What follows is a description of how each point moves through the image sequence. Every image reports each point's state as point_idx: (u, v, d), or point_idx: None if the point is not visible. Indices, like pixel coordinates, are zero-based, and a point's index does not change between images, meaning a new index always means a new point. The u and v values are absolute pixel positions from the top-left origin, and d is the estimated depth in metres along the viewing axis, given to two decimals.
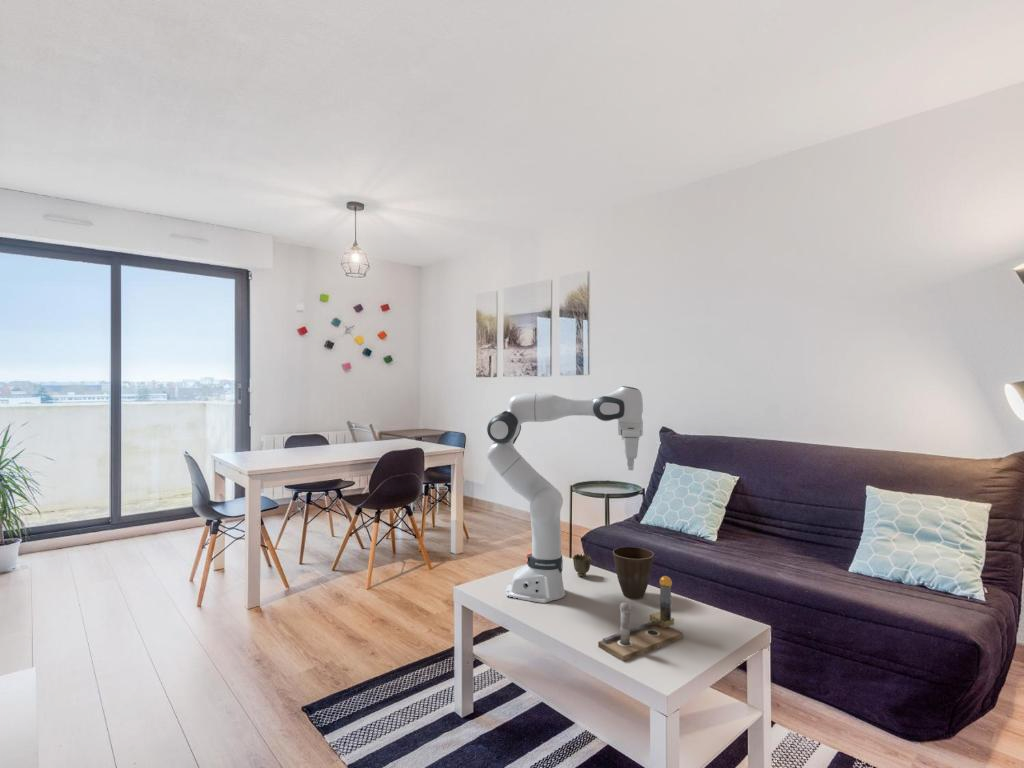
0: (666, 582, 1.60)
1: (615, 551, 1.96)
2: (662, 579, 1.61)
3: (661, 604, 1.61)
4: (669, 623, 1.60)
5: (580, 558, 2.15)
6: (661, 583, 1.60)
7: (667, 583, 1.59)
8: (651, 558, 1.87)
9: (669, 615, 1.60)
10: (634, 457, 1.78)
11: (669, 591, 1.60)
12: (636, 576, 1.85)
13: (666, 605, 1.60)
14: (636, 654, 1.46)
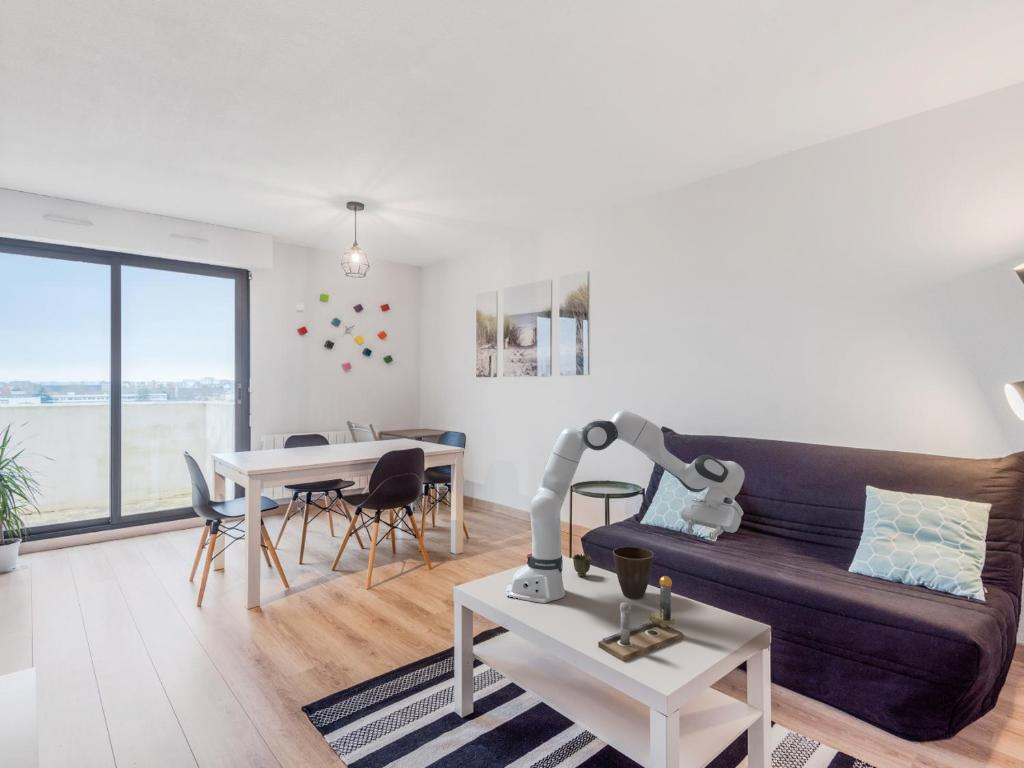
0: (666, 582, 1.60)
1: (615, 551, 1.96)
2: (662, 579, 1.61)
3: (661, 604, 1.61)
4: (669, 623, 1.60)
5: (580, 558, 2.15)
6: (661, 583, 1.60)
7: (667, 583, 1.59)
8: (651, 558, 1.87)
9: (669, 615, 1.60)
10: (734, 531, 1.66)
11: (669, 591, 1.60)
12: (636, 576, 1.85)
13: (666, 605, 1.60)
14: (636, 654, 1.46)
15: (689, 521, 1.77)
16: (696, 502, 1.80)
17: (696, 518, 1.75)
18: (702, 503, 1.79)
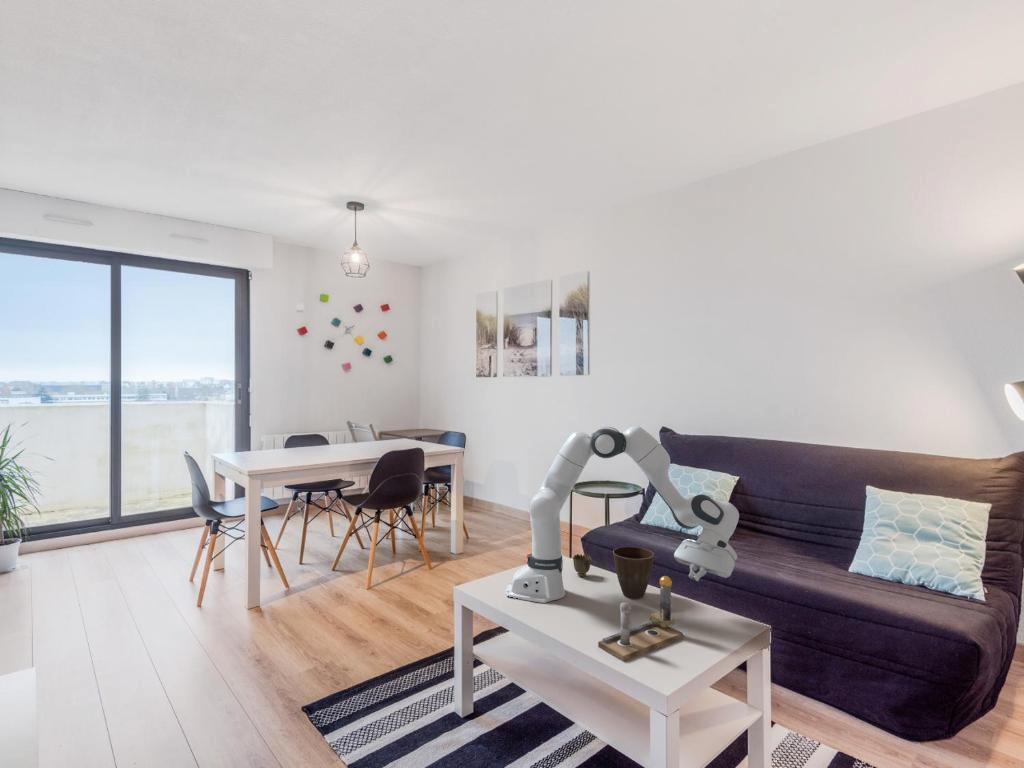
0: (666, 582, 1.60)
1: (615, 551, 1.96)
2: (662, 579, 1.61)
3: (661, 604, 1.61)
4: (669, 623, 1.60)
5: (580, 558, 2.15)
6: (661, 583, 1.60)
7: (667, 583, 1.59)
8: (651, 558, 1.87)
9: (669, 615, 1.60)
10: (727, 576, 1.64)
11: (669, 591, 1.60)
12: (636, 576, 1.85)
13: (666, 605, 1.60)
14: (636, 654, 1.46)
15: (691, 566, 1.72)
16: (689, 543, 1.78)
17: (689, 560, 1.73)
18: (695, 544, 1.76)
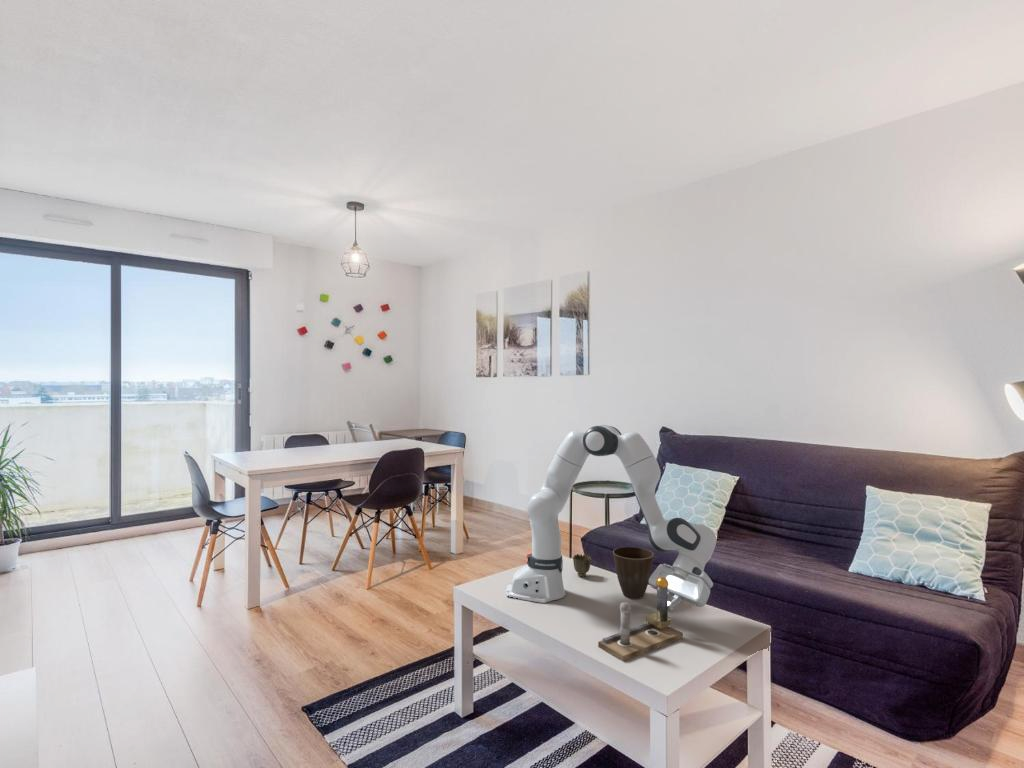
0: (663, 582, 1.59)
1: (615, 551, 1.96)
2: (659, 580, 1.60)
3: (658, 605, 1.60)
4: (666, 624, 1.59)
5: (580, 558, 2.15)
6: (658, 584, 1.59)
7: (664, 584, 1.59)
8: (651, 558, 1.87)
9: (666, 616, 1.59)
10: (701, 606, 1.56)
11: (666, 592, 1.59)
12: (636, 576, 1.85)
13: (662, 606, 1.59)
14: (636, 654, 1.46)
15: None
16: (665, 568, 1.71)
17: None
18: (670, 570, 1.69)
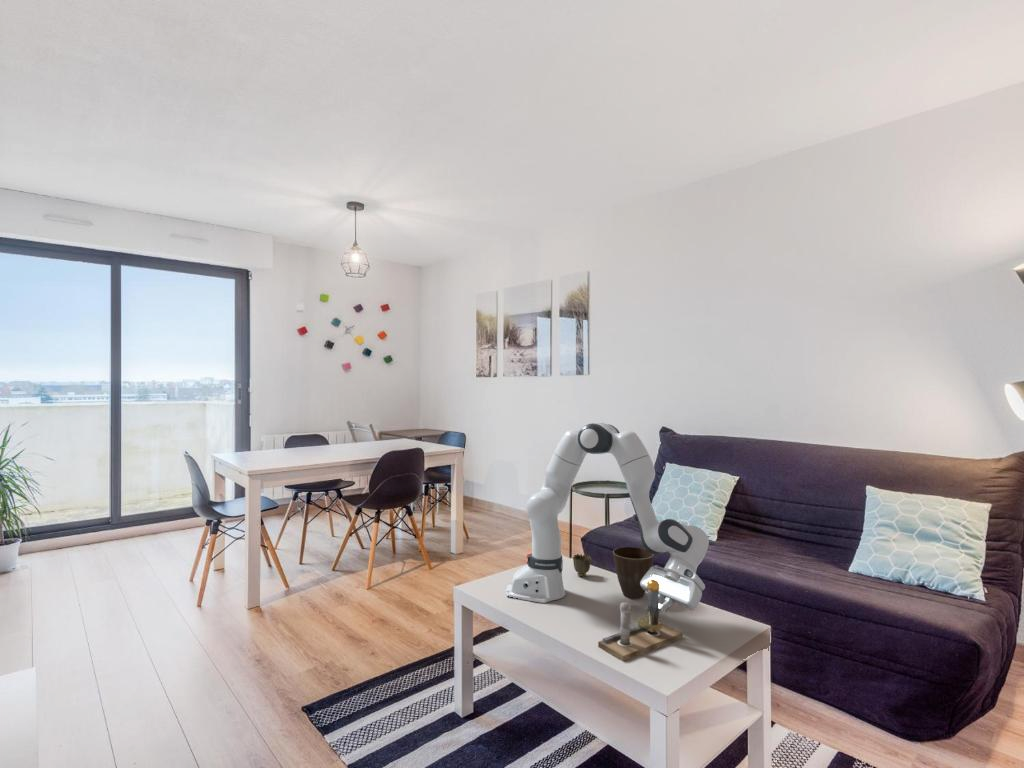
0: (653, 585, 1.56)
1: (615, 551, 1.96)
2: (650, 583, 1.57)
3: (649, 608, 1.57)
4: (657, 627, 1.57)
5: (580, 558, 2.15)
6: (649, 587, 1.57)
7: (655, 587, 1.56)
8: (651, 558, 1.87)
9: (657, 619, 1.57)
10: (693, 608, 1.54)
11: (657, 595, 1.57)
12: (636, 576, 1.85)
13: (653, 609, 1.56)
14: (636, 654, 1.46)
15: None
16: (656, 570, 1.68)
17: None
18: (662, 572, 1.67)
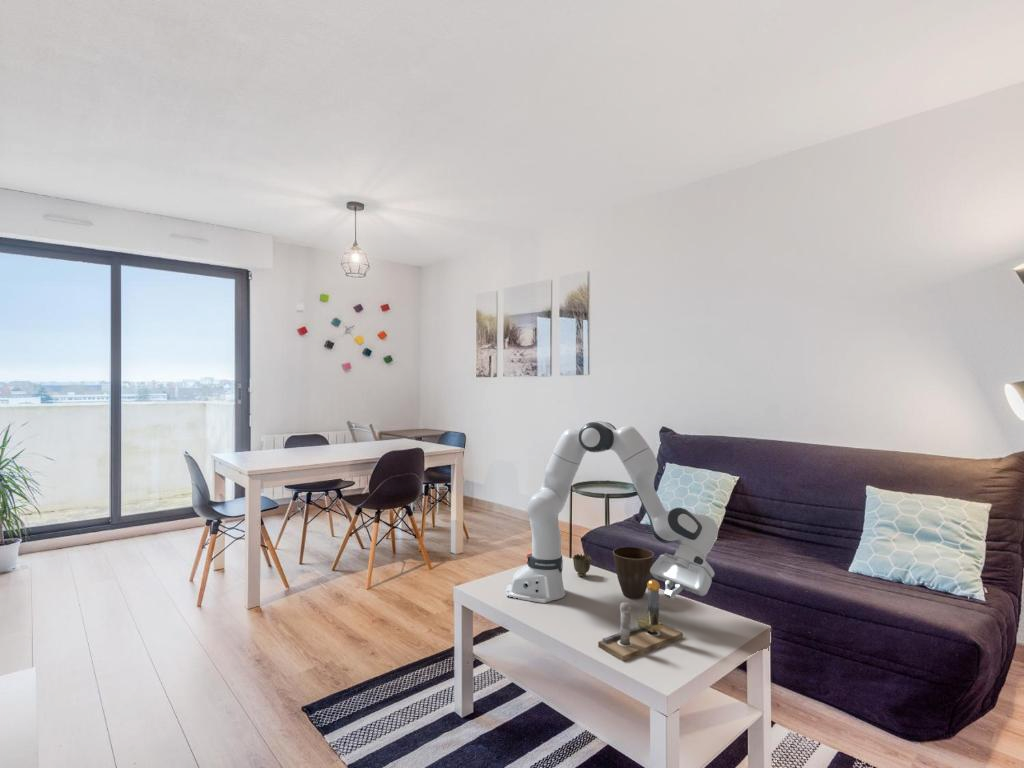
0: (653, 585, 1.56)
1: (615, 551, 1.96)
2: (650, 583, 1.57)
3: (649, 608, 1.57)
4: (657, 628, 1.57)
5: (580, 558, 2.15)
6: (649, 587, 1.57)
7: (655, 587, 1.56)
8: (651, 558, 1.87)
9: (657, 619, 1.57)
10: (703, 594, 1.56)
11: (657, 595, 1.57)
12: (636, 576, 1.85)
13: (653, 609, 1.56)
14: (636, 654, 1.46)
15: (667, 582, 1.65)
16: (666, 558, 1.71)
17: (665, 576, 1.66)
18: (672, 559, 1.69)
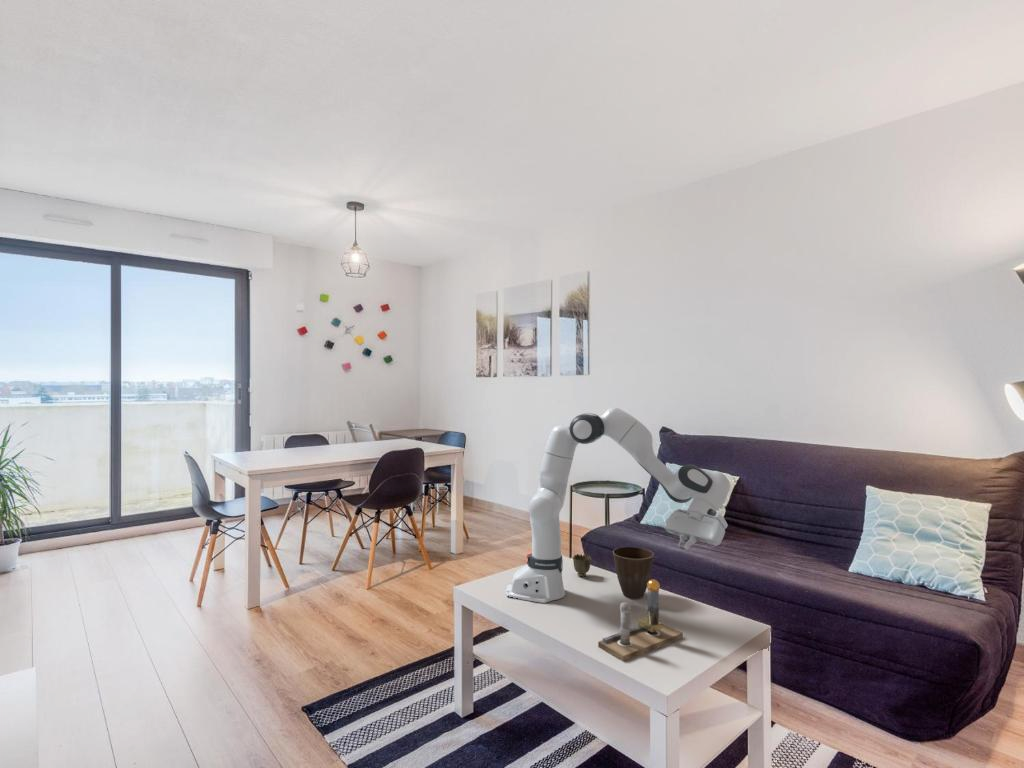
0: (653, 585, 1.56)
1: (615, 551, 1.96)
2: (650, 583, 1.57)
3: (649, 608, 1.57)
4: (657, 628, 1.57)
5: (580, 558, 2.15)
6: (649, 587, 1.57)
7: (655, 587, 1.56)
8: (651, 558, 1.87)
9: (657, 619, 1.57)
10: (717, 544, 1.61)
11: (657, 595, 1.57)
12: (636, 576, 1.85)
13: (653, 609, 1.56)
14: (636, 654, 1.46)
15: (681, 535, 1.69)
16: (680, 513, 1.75)
17: (679, 530, 1.70)
18: (685, 514, 1.73)
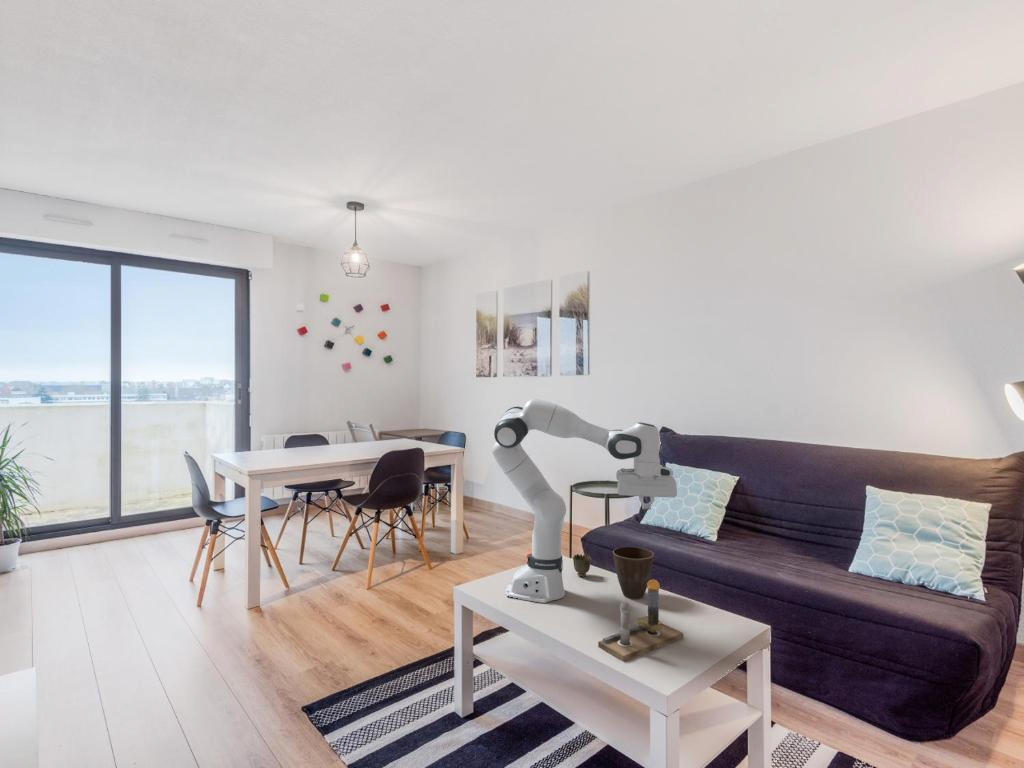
0: (653, 585, 1.56)
1: (615, 551, 1.96)
2: (650, 583, 1.57)
3: (649, 608, 1.57)
4: (657, 628, 1.57)
5: (580, 558, 2.15)
6: (649, 587, 1.57)
7: (655, 587, 1.56)
8: (651, 558, 1.87)
9: (657, 619, 1.57)
10: None
11: (657, 595, 1.57)
12: (636, 576, 1.85)
13: (653, 609, 1.56)
14: (636, 654, 1.46)
15: (641, 498, 1.78)
16: (628, 476, 1.78)
17: (637, 494, 1.78)
18: (635, 476, 1.78)
